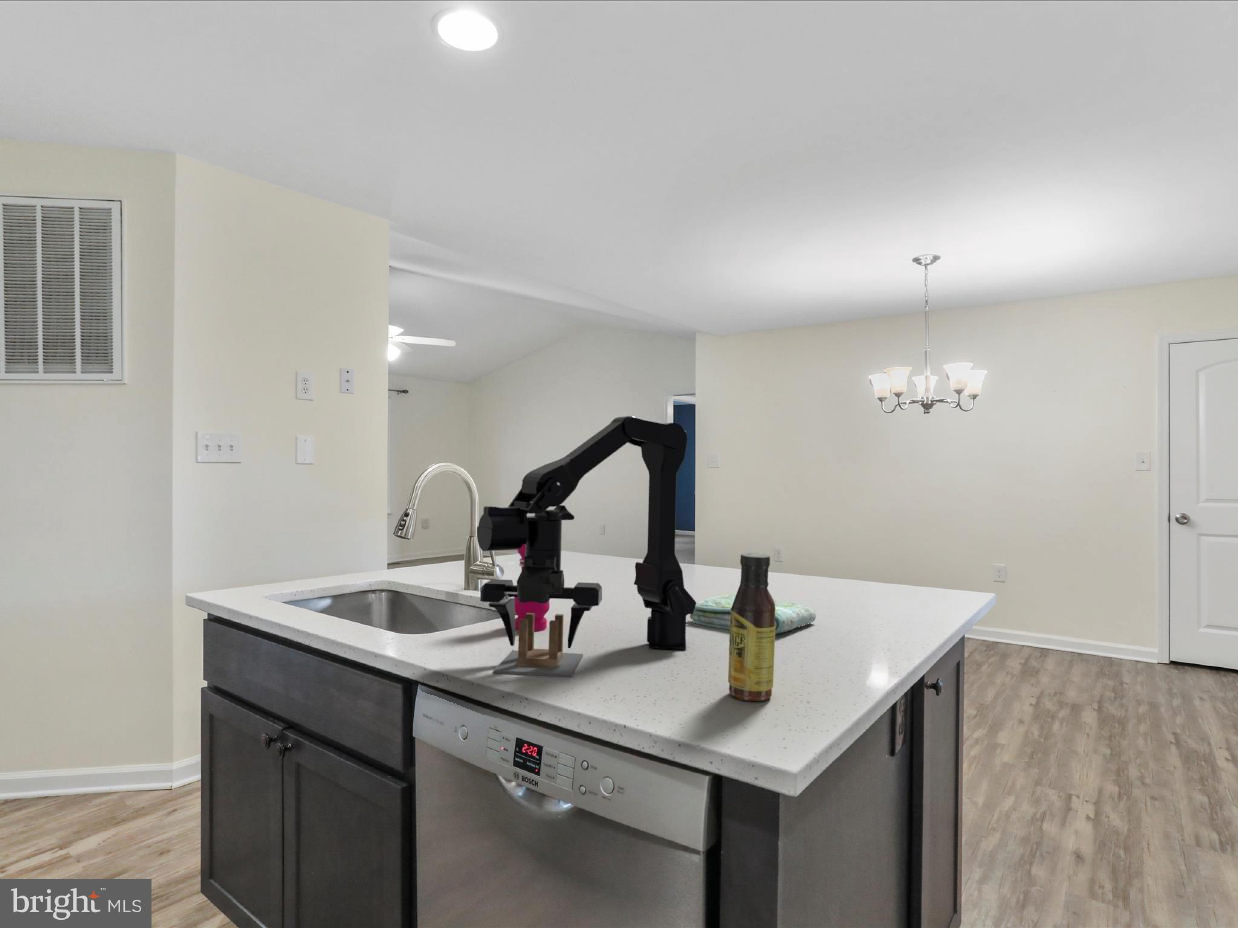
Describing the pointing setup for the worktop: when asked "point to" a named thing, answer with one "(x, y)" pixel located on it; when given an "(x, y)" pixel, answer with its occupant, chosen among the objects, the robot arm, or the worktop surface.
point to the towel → (719, 613)
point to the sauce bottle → (752, 632)
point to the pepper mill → (530, 605)
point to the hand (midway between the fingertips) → (540, 646)
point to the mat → (563, 668)
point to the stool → (540, 656)
